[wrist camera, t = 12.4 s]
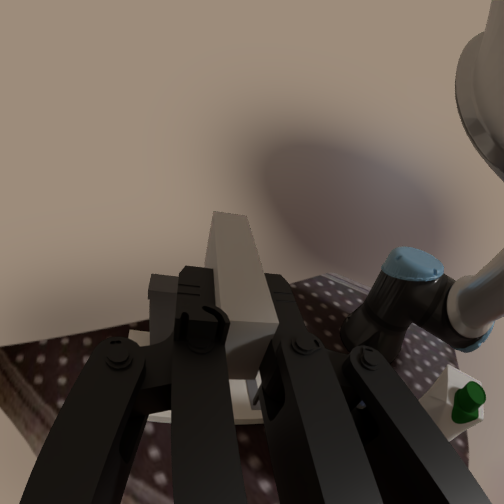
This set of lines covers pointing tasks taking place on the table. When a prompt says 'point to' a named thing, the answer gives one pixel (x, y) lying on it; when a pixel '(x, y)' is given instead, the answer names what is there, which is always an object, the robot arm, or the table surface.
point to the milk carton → (454, 402)
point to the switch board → (239, 390)
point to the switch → (162, 306)
